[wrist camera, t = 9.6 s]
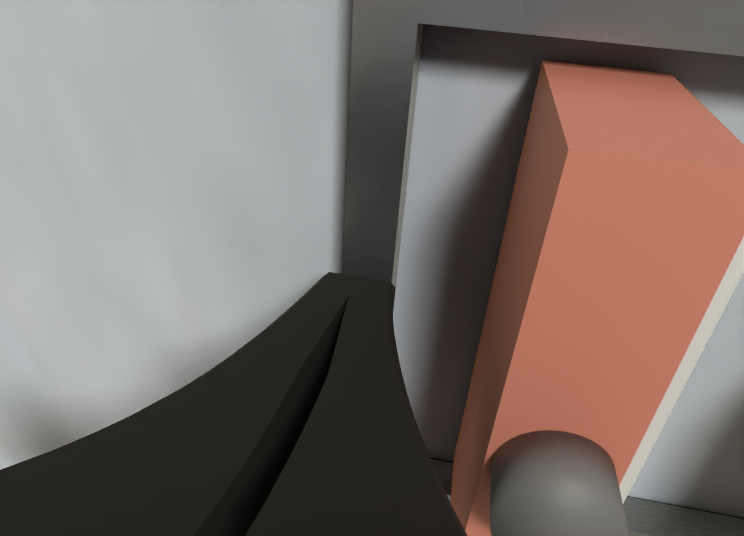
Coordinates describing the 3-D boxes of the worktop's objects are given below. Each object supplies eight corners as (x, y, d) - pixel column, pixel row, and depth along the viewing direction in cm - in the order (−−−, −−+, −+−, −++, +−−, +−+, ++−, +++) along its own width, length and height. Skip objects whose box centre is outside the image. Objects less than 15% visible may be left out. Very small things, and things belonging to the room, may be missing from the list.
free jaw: (697, 76, 9) (873, 228, 5) (547, 474, 14) (568, 704, 10) (542, 59, 9) (580, 189, 5) (453, 456, 15) (437, 673, 11)
